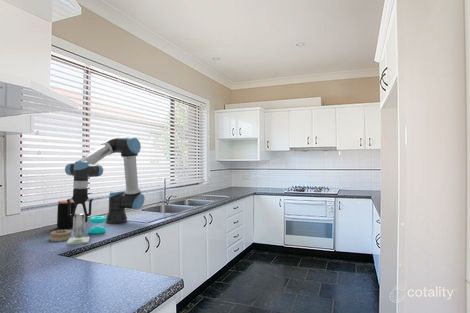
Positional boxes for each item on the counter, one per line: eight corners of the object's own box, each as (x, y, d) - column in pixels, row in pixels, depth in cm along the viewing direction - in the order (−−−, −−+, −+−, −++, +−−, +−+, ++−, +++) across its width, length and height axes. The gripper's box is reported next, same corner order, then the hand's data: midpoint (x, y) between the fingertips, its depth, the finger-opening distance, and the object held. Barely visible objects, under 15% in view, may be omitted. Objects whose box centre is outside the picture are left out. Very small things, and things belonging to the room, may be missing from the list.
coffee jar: (78, 226, 212) (79, 200, 213) (68, 229, 202) (69, 202, 202) (63, 225, 214) (64, 199, 214) (53, 228, 203) (54, 201, 203)
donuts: (100, 215, 204) (109, 217, 199) (99, 230, 204) (108, 232, 199) (86, 217, 196) (95, 219, 190) (85, 232, 196) (94, 235, 190)
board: (90, 238, 183) (90, 236, 183) (88, 243, 173) (88, 241, 173) (69, 239, 179) (69, 237, 179) (66, 244, 169) (66, 242, 169)
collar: (72, 235, 187) (72, 229, 187) (69, 240, 177) (69, 233, 177) (52, 236, 183) (52, 230, 183) (48, 241, 174) (48, 234, 174)
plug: (83, 235, 179) (84, 213, 179) (82, 237, 175) (83, 215, 175) (74, 236, 177) (75, 213, 178) (73, 238, 173) (74, 215, 173)
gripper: (62, 188, 170) (60, 230, 169) (96, 188, 176) (95, 228, 176) (64, 187, 177) (63, 227, 177) (97, 187, 183) (96, 226, 183)
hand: (79, 228), depth 176 cm, fingers closed on plug, 5 cm apart
